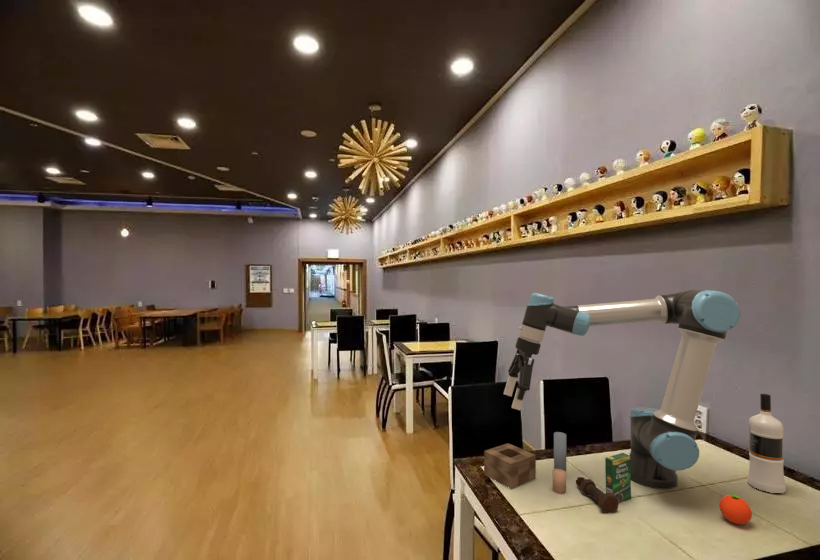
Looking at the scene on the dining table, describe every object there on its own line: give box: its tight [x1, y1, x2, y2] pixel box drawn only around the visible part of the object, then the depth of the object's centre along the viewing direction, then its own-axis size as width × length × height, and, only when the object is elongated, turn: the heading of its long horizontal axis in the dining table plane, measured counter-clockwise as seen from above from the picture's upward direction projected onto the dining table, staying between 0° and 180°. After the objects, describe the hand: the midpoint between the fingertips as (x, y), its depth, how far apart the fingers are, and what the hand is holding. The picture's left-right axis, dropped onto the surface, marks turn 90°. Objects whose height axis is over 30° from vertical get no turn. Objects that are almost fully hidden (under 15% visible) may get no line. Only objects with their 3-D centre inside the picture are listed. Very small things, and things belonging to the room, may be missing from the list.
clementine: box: [718, 493, 753, 525], centre depth 108 cm, size 8×7×7 cm
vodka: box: [746, 393, 787, 494], centre depth 127 cm, size 9×9×30 cm
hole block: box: [483, 442, 537, 490], centre depth 133 cm, size 12×12×8 cm
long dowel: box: [553, 431, 567, 472], centre depth 134 cm, size 4×4×14 cm
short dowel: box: [552, 468, 567, 495], centre depth 124 cm, size 4×4×6 cm
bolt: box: [575, 476, 620, 514], centre depth 120 cm, size 6×5×15 cm
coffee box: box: [604, 452, 632, 503], centre depth 119 cm, size 8×3×13 cm, turn 113°
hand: (511, 401), depth 130 cm, fingers open, 13 cm apart
